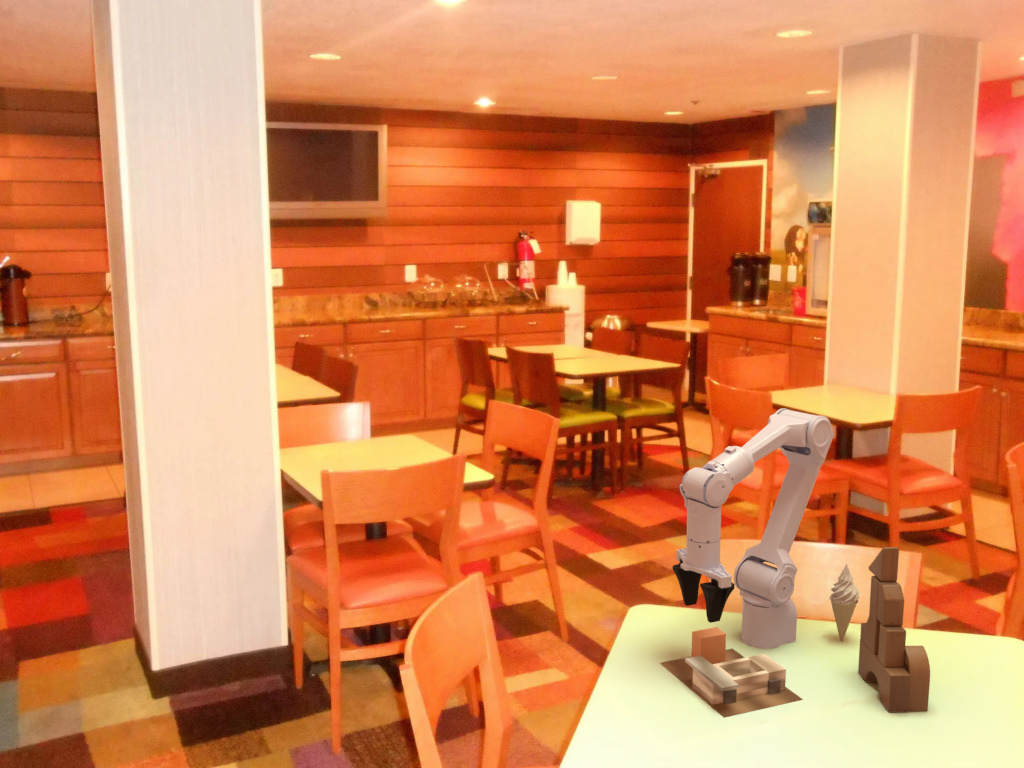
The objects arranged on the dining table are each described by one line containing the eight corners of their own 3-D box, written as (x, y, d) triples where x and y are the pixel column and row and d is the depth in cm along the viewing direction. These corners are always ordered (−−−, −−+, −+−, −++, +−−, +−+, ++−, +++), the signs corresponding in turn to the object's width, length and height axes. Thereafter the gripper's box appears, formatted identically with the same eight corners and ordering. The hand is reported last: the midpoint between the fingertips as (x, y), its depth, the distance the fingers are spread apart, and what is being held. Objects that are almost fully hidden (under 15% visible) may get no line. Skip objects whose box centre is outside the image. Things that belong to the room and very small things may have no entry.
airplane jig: (732, 653, 172) (733, 627, 172) (802, 705, 154) (804, 675, 153) (659, 668, 167) (660, 640, 166) (723, 723, 149) (724, 693, 148)
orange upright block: (715, 656, 169) (716, 627, 168) (725, 663, 167) (726, 633, 166) (691, 661, 168) (691, 631, 167) (700, 668, 165) (701, 638, 164)
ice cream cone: (859, 646, 175) (864, 568, 172) (832, 646, 175) (836, 568, 172) (850, 634, 180) (855, 558, 177) (823, 634, 180) (827, 558, 177)
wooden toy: (930, 712, 152) (941, 563, 147) (888, 712, 152) (897, 563, 147) (892, 667, 167) (901, 530, 162) (854, 667, 167) (861, 531, 162)
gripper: (661, 528, 168) (660, 600, 171) (706, 554, 155) (704, 633, 157) (696, 523, 171) (695, 594, 173) (743, 548, 157) (740, 626, 160)
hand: (701, 612), depth 165 cm, fingers open, 7 cm apart
